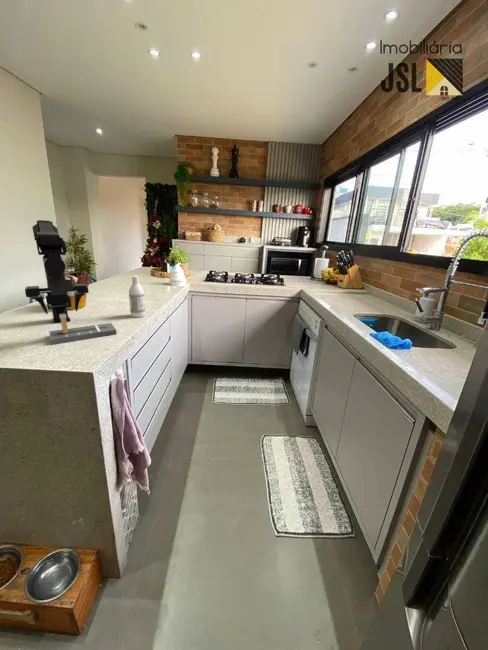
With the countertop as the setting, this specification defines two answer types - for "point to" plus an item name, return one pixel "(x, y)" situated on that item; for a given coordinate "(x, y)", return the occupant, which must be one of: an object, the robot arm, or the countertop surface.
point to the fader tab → (64, 323)
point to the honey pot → (177, 276)
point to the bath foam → (136, 298)
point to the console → (82, 333)
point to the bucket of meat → (80, 280)
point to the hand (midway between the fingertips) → (62, 312)
